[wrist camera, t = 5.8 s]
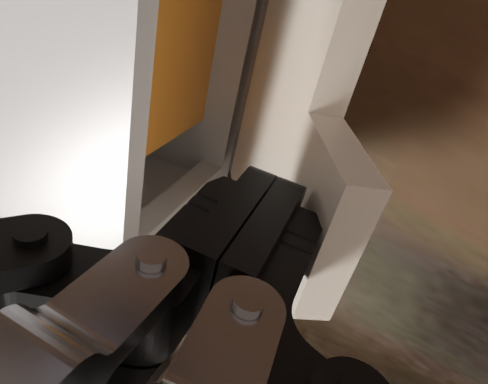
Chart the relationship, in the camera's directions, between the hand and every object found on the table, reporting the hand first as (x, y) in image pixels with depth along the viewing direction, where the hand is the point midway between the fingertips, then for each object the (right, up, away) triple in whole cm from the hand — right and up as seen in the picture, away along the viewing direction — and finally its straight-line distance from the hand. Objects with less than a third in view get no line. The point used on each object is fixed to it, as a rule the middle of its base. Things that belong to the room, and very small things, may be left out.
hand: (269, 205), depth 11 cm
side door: (0, +6, +9) cm, 11 cm away
